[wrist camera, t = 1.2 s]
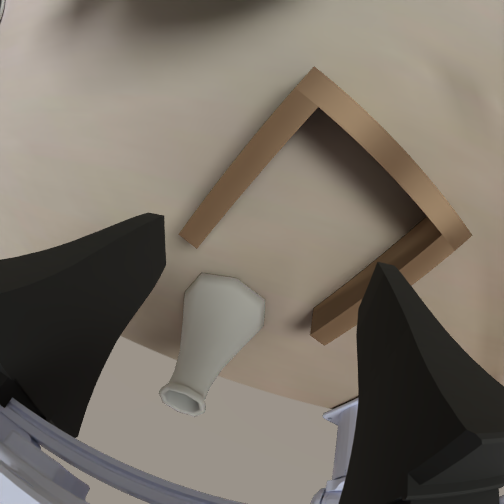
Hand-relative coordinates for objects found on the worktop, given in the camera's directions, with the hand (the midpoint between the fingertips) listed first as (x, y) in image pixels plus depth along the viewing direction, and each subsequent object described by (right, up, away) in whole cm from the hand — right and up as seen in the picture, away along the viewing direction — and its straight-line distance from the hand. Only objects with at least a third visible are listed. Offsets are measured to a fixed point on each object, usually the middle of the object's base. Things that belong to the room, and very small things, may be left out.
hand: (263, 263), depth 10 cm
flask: (-3, -4, +16) cm, 17 cm away
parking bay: (+4, +2, +10) cm, 11 cm away
